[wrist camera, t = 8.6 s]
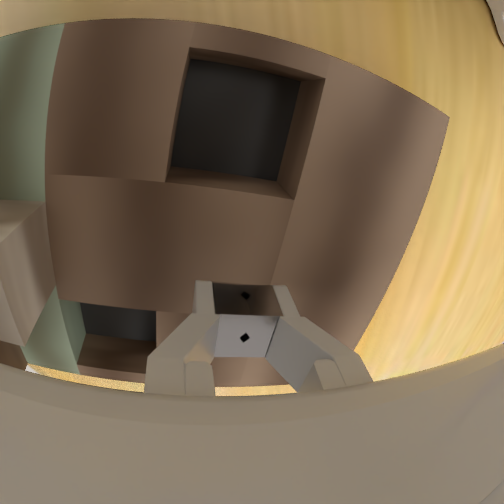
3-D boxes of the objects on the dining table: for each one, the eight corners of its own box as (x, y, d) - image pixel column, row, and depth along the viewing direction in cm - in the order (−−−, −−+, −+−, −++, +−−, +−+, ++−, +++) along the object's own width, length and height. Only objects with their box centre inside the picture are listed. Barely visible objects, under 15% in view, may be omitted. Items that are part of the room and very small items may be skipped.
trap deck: (412, 109, 13) (495, 129, 8) (321, 350, 21) (350, 412, 16) (10, 49, 7) (-66, 43, 2) (29, 329, 15) (3, 395, 10)
